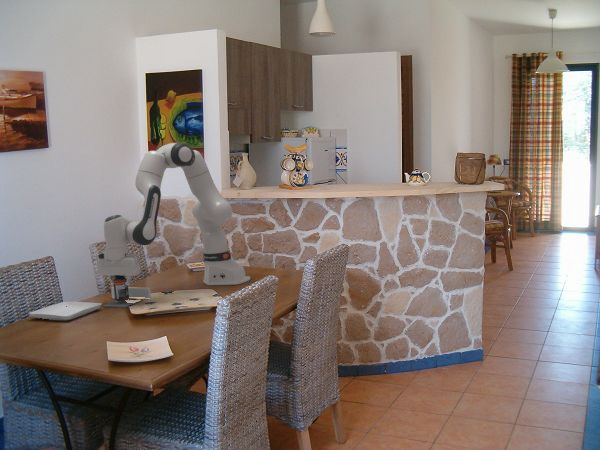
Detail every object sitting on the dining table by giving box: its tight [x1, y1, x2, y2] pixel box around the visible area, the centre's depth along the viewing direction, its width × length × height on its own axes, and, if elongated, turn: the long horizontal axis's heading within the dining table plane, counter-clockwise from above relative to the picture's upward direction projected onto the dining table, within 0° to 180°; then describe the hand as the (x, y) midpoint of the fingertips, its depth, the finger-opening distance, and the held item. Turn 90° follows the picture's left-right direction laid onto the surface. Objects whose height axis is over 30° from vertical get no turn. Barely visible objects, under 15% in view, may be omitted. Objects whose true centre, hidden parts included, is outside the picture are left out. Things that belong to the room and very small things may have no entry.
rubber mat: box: [101, 299, 134, 309], centre depth 312 cm, size 12×12×1 cm
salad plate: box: [28, 301, 103, 322], centre depth 299 cm, size 21×21×3 cm
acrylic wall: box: [110, 286, 152, 300], centre depth 321 cm, size 20×1×5 cm, turn 66°
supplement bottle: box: [113, 275, 129, 301], centre depth 311 cm, size 6×6×11 cm
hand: (120, 285), depth 311 cm, fingers closed on supplement bottle, 6 cm apart
